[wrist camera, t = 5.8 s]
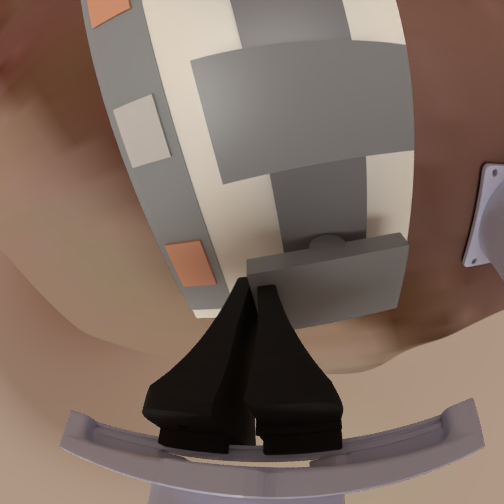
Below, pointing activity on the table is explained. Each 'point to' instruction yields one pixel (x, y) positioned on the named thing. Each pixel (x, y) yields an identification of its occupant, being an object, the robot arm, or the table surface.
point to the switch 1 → (304, 104)
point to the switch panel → (200, 147)
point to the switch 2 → (334, 278)
